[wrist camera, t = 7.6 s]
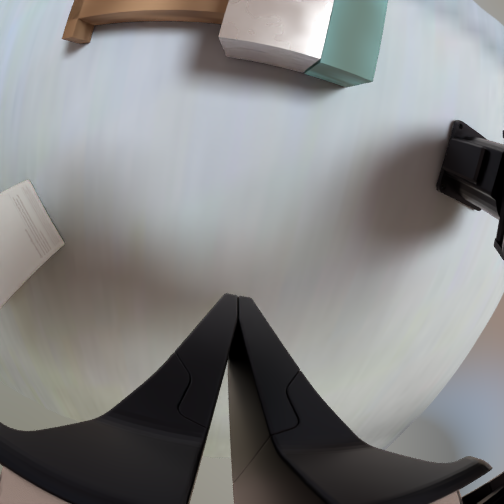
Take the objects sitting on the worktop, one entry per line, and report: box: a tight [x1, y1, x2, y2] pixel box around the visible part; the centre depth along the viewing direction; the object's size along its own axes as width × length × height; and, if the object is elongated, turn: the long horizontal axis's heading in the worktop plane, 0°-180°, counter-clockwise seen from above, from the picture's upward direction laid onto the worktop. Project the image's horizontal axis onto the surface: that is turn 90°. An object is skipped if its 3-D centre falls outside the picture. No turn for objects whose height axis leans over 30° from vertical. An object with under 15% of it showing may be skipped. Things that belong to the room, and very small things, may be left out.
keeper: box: [218, 0, 334, 73], centre depth 11 cm, size 5×7×5 cm
